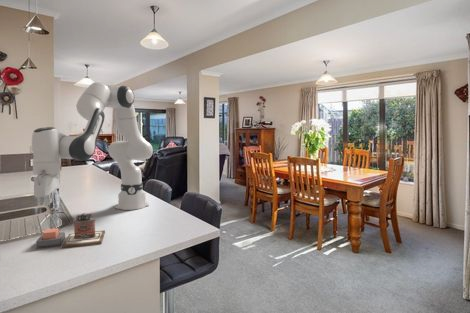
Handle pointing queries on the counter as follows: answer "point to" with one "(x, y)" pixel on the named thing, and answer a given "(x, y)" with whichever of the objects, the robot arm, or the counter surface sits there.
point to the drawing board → (83, 240)
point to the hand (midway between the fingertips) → (48, 203)
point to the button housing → (50, 241)
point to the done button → (51, 233)
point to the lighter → (84, 226)
